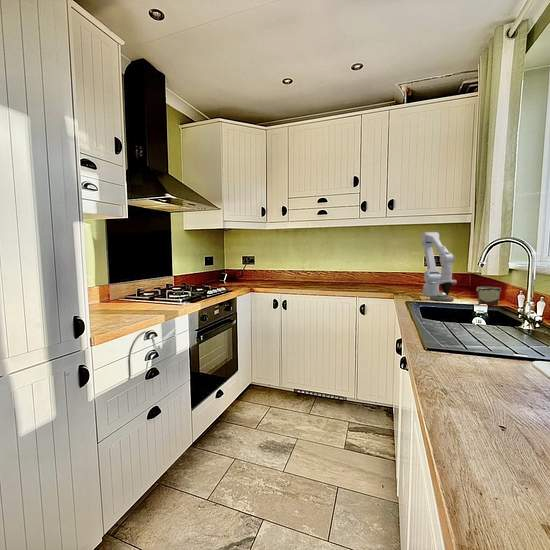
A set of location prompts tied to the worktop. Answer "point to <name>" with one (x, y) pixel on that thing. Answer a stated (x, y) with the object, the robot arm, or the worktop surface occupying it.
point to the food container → (488, 295)
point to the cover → (441, 294)
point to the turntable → (442, 298)
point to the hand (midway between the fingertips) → (446, 294)
